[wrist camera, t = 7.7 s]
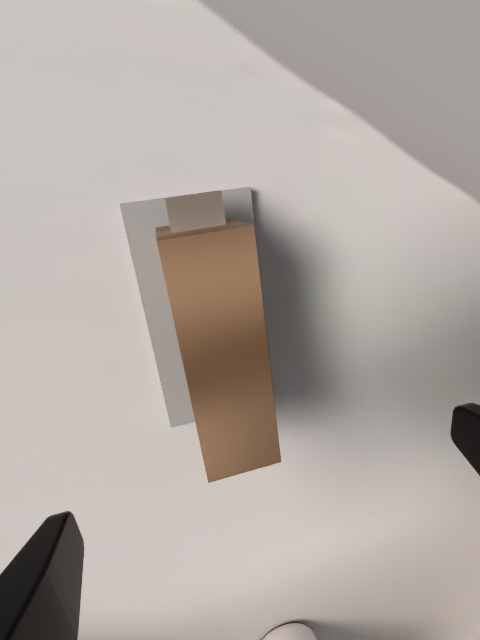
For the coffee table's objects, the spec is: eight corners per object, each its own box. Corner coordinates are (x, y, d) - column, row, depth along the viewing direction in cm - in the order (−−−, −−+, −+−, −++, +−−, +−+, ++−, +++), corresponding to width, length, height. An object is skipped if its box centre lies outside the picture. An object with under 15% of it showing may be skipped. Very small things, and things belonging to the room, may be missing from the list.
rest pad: (269, 397, 21) (272, 402, 21) (170, 421, 20) (171, 427, 20) (247, 187, 17) (250, 187, 16) (120, 203, 16) (119, 204, 15)
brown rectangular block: (248, 395, 20) (280, 461, 15) (194, 409, 20) (208, 482, 15) (219, 190, 16) (249, 186, 11) (149, 200, 16) (148, 201, 11)
